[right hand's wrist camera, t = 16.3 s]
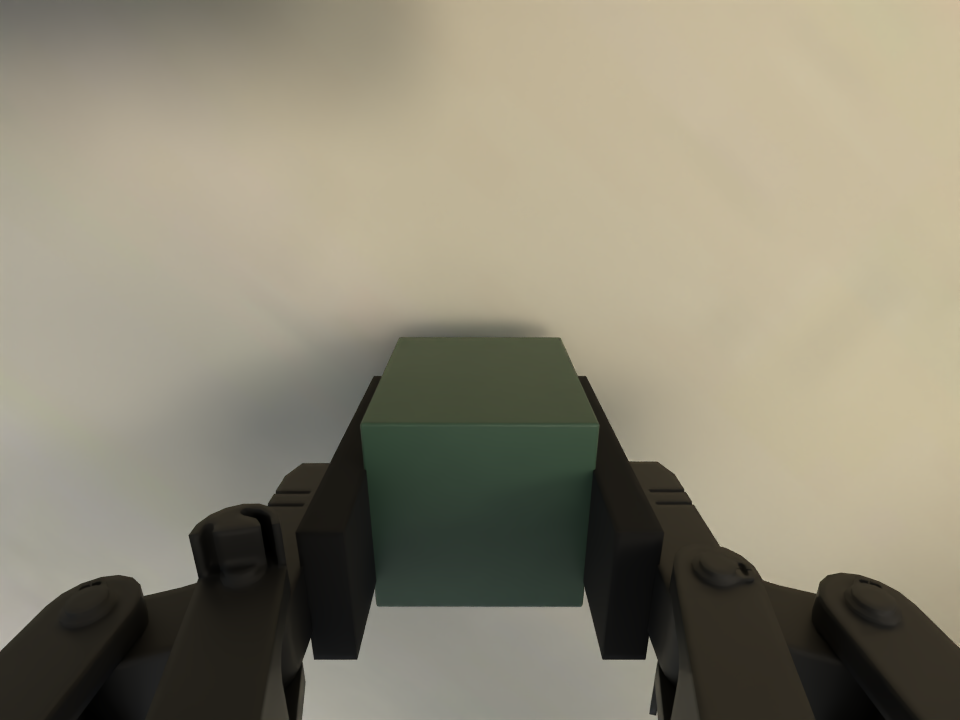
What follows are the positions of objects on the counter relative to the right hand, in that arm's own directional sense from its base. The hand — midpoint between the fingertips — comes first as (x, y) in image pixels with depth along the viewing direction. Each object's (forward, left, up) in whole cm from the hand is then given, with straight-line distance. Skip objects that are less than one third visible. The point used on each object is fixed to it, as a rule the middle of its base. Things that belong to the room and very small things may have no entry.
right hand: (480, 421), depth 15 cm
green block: (0, 0, 0) cm, 0 cm away
